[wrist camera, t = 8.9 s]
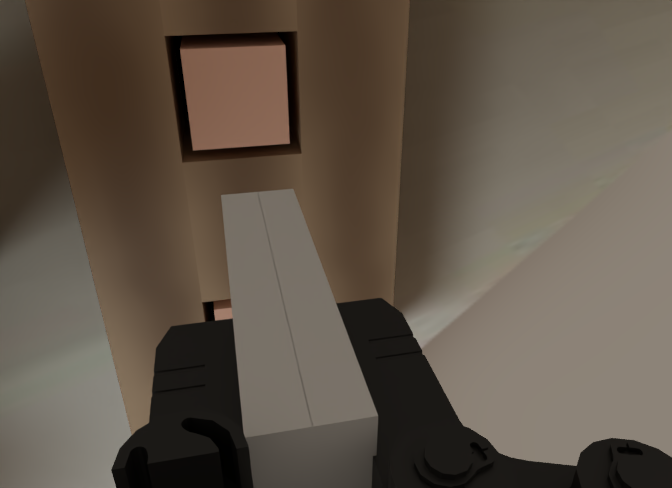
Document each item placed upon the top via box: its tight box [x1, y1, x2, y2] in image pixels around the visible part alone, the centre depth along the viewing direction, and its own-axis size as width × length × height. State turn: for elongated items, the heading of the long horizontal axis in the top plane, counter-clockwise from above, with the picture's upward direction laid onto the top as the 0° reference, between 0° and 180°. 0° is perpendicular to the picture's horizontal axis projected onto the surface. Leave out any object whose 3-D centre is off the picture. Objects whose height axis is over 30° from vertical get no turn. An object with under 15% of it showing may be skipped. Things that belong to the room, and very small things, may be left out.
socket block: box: [25, 0, 410, 435], centre depth 29 cm, size 14×24×6 cm, turn 0°
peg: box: [180, 32, 290, 151], centre depth 25 cm, size 4×4×6 cm
